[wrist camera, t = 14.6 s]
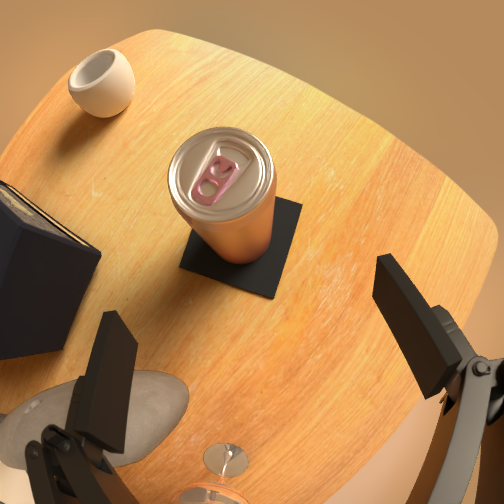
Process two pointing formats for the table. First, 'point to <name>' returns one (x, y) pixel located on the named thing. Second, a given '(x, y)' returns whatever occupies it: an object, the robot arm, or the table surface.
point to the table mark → (257, 272)
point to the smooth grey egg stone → (138, 422)
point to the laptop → (14, 483)
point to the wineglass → (224, 465)
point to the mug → (102, 83)
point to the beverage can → (226, 191)
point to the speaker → (38, 277)
